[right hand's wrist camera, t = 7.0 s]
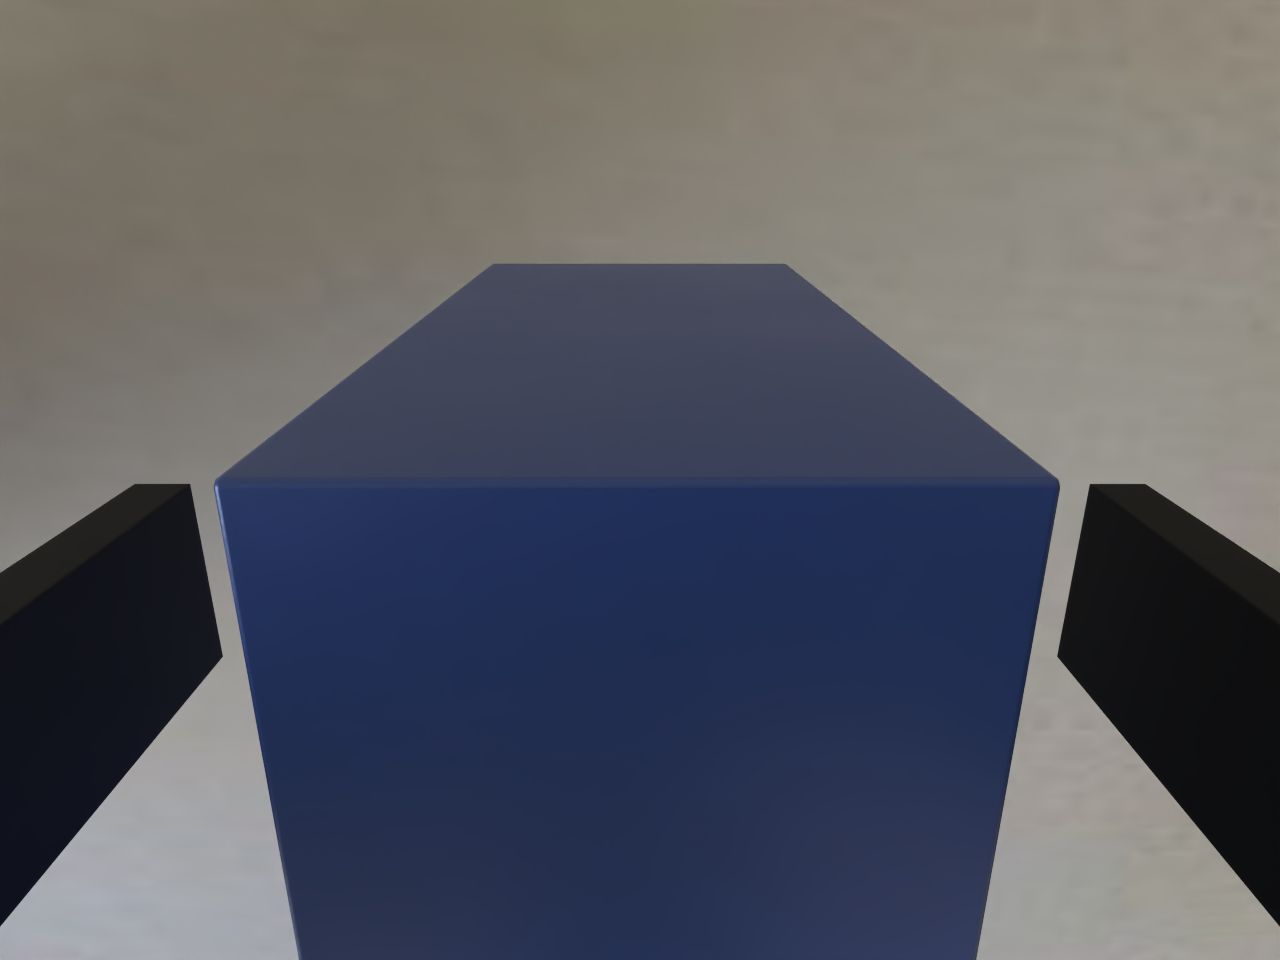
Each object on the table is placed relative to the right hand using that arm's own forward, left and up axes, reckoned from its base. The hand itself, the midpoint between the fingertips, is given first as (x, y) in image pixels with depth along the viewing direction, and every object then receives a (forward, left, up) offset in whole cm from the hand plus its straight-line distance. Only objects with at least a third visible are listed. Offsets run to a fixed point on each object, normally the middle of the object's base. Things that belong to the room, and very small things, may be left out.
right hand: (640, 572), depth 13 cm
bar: (-2, +9, -3) cm, 9 cm away
